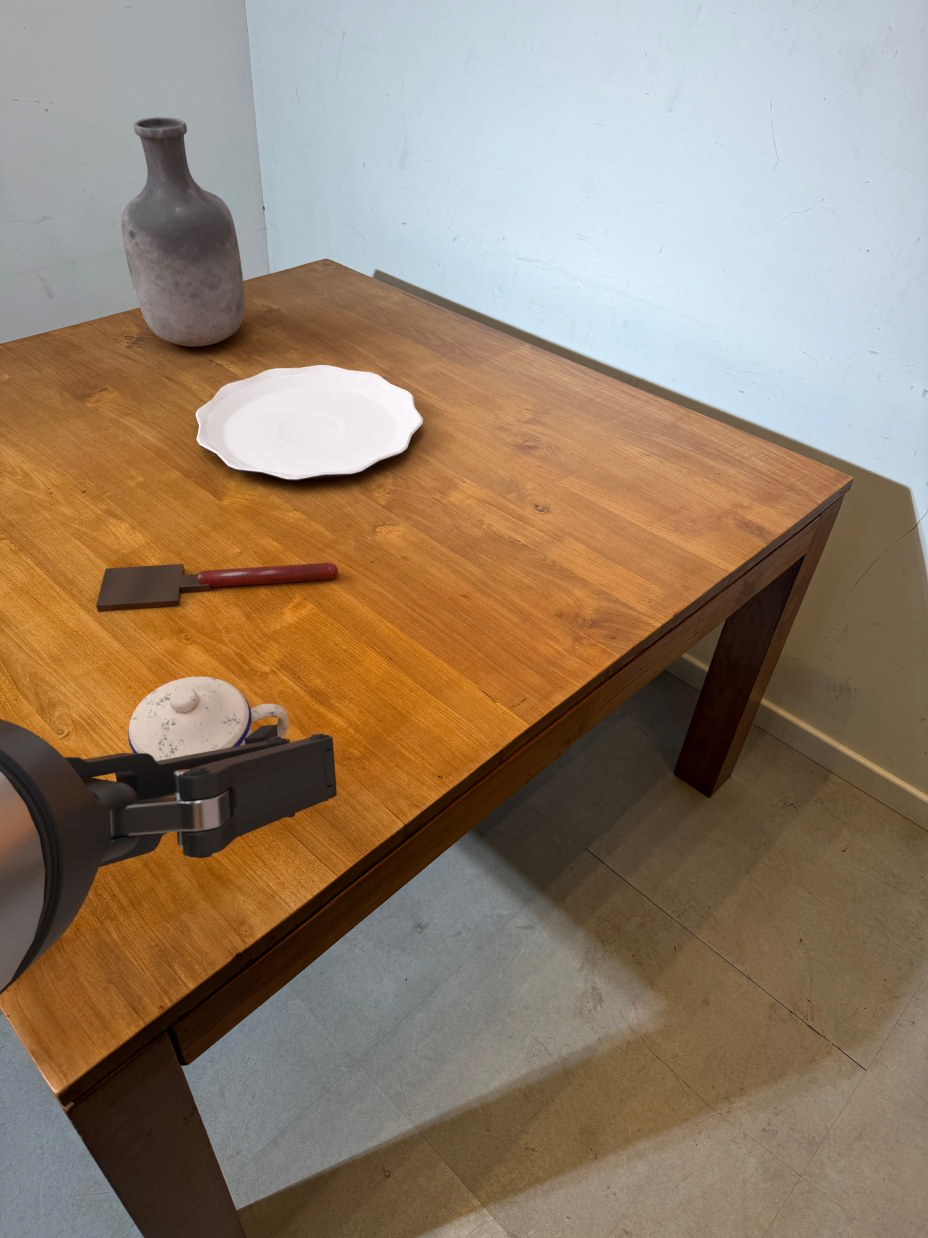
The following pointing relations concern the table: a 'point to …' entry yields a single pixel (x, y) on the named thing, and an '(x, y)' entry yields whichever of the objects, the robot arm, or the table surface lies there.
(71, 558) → the table surface
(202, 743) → the teacup with lid
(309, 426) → the plate
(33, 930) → the robot arm
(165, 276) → the vase
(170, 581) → the spatula
